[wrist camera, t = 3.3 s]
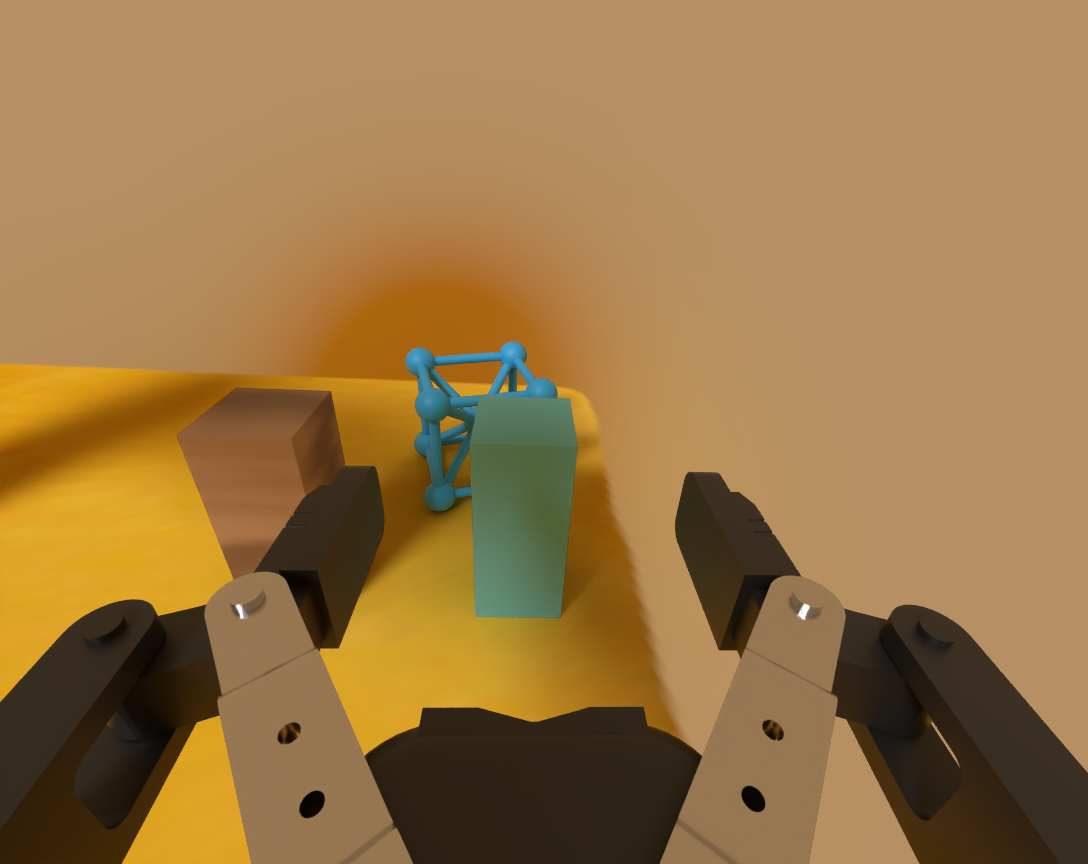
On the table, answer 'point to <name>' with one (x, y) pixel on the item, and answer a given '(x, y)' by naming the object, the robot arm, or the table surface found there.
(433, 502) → the molecular structure
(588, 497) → the table surface
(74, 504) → the table surface
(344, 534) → the robot arm
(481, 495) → the teal pillar
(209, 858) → the table surface
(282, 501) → the walnut pillar
